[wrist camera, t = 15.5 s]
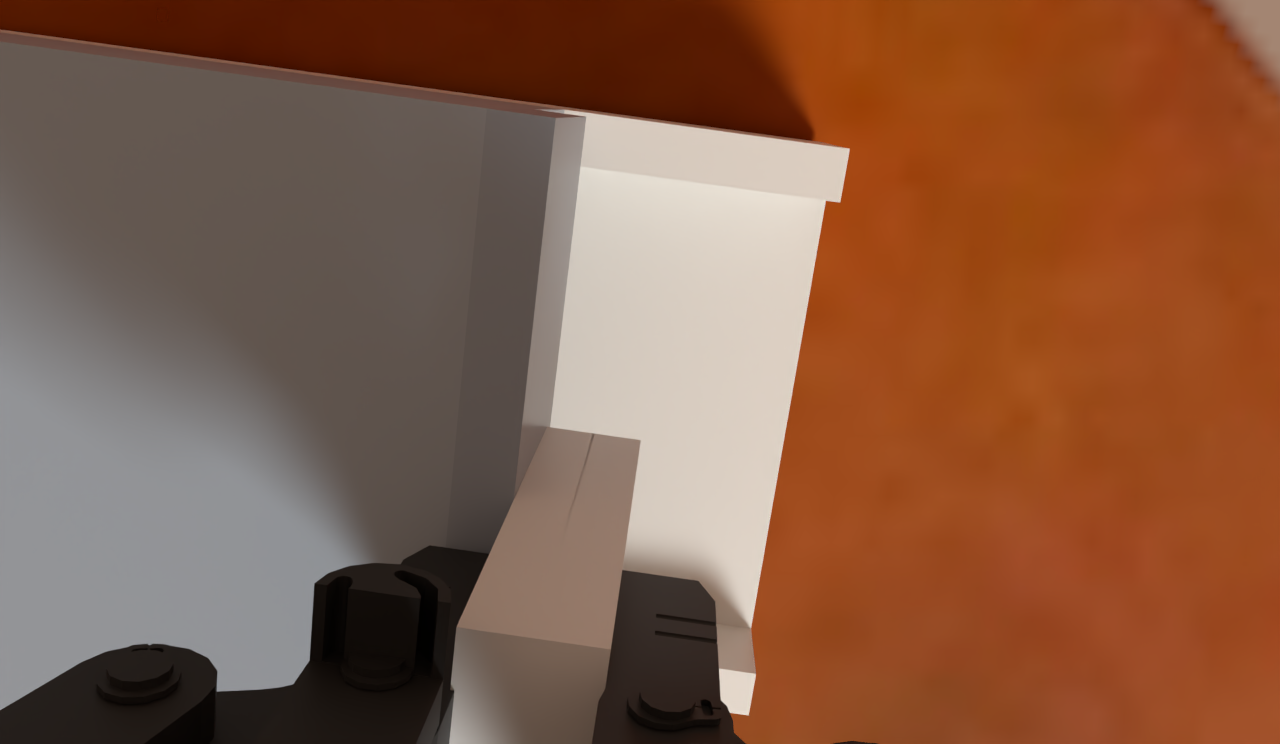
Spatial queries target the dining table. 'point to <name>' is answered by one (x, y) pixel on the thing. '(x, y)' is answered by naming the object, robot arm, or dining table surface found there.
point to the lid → (256, 343)
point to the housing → (687, 335)
